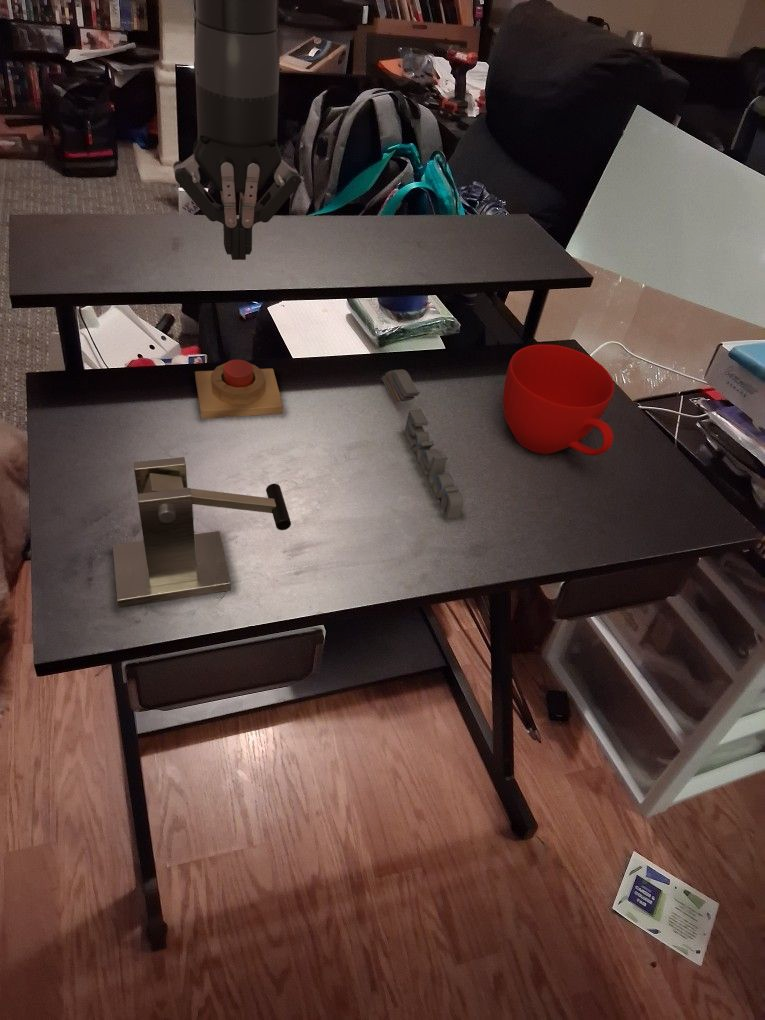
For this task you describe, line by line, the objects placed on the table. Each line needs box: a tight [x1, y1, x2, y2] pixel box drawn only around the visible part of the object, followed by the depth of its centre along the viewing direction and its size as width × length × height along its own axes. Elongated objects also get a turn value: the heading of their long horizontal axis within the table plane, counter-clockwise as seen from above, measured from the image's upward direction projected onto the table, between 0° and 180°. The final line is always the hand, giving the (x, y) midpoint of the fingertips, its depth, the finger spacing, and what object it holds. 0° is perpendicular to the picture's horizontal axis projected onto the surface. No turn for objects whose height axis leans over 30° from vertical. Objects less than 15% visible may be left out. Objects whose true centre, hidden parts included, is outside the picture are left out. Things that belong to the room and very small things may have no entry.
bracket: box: [112, 456, 232, 609], centre depth 68 cm, size 10×7×13 cm, turn 108°
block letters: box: [380, 368, 464, 520], centre depth 89 cm, size 25×2×6 cm, turn 18°
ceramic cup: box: [502, 343, 615, 456], centre depth 91 cm, size 13×17×10 cm
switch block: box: [194, 363, 284, 419], centre depth 92 cm, size 10×8×3 cm
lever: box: [143, 473, 292, 531], centre depth 67 cm, size 13×5×2 cm, turn 107°
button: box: [223, 359, 253, 387], centre depth 91 cm, size 4×4×2 cm
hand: (238, 256), depth 80 cm, fingers closed
